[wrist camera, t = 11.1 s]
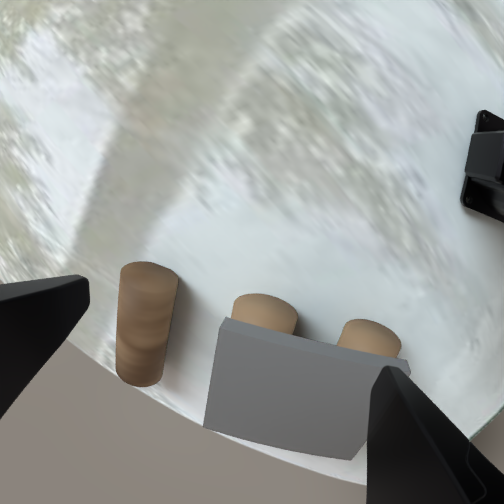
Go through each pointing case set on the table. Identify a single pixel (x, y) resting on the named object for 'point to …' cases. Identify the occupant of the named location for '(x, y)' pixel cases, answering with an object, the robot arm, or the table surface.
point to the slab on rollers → (295, 380)
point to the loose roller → (144, 321)
